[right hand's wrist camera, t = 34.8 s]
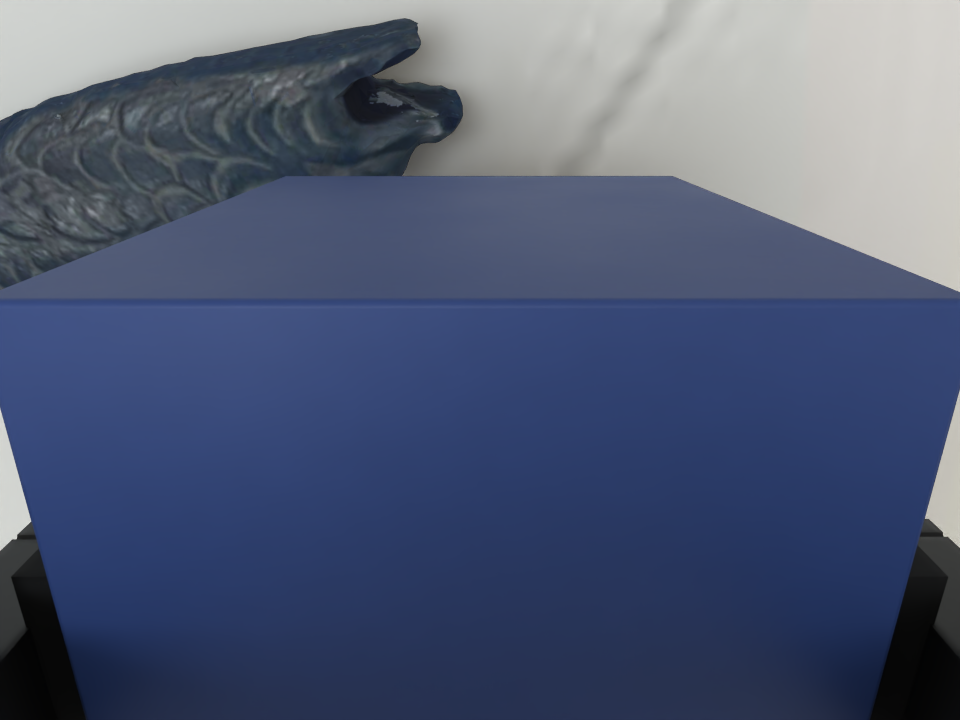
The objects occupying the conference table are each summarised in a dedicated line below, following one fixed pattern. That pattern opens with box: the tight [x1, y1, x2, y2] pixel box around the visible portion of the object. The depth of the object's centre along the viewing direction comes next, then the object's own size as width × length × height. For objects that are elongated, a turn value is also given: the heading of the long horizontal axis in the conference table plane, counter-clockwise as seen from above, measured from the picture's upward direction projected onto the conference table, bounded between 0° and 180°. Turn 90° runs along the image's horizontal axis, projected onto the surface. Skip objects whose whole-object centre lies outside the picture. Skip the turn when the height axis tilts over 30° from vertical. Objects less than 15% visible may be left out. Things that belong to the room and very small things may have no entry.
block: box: [0, 176, 960, 720], centre depth 12 cm, size 8×9×10 cm
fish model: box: [0, 18, 463, 290], centre depth 21 cm, size 7×21×5 cm, turn 106°
